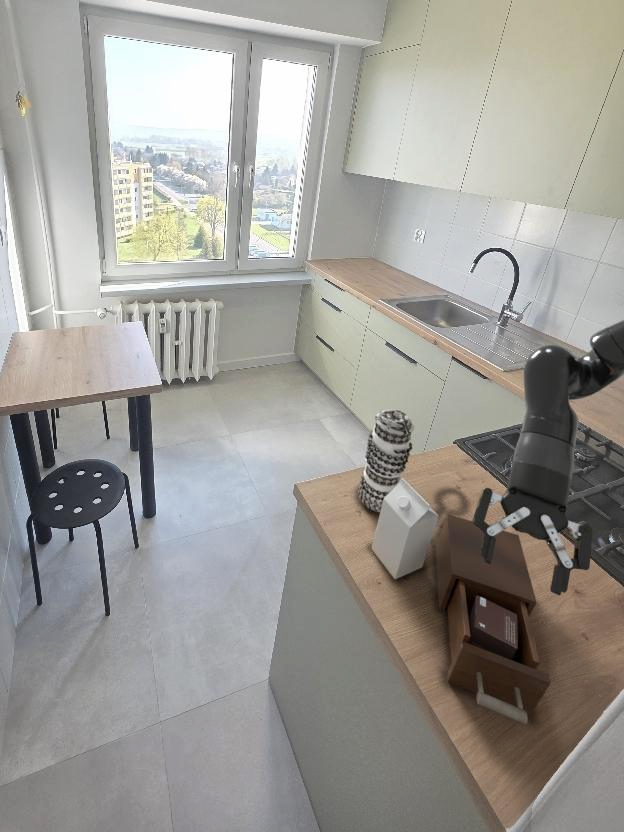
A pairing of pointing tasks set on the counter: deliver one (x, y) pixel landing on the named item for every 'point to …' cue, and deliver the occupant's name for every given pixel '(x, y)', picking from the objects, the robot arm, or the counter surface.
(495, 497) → the robot arm
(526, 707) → the drawer
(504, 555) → the cabinet
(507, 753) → the counter surface
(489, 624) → the box
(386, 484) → the decorative candle
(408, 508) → the milk carton
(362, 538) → the counter surface
